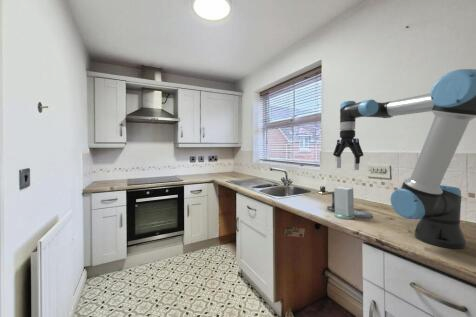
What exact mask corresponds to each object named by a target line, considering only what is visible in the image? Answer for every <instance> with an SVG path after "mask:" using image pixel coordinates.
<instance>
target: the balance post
mask: <svg viewBox="0 0 476 317" xmlns="http://www.w3.org/2000/svg"><path fill="white" fill-rule="evenodd" d="M331 197H332V198H331V205H327V206H326V207H327V208H326V209H327V210H328V211H332V212H335V197H334V194H331Z"/></svg>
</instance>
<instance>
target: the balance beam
mask: <svg viewBox="0 0 476 317" xmlns="http://www.w3.org/2000/svg"><path fill="white" fill-rule="evenodd" d="M316 193H317V194H319V195H321V196H325V195H326V196H327V195H332V194H334V190H333V191H328V190H326V186H319V190H317V192H316Z"/></svg>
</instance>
